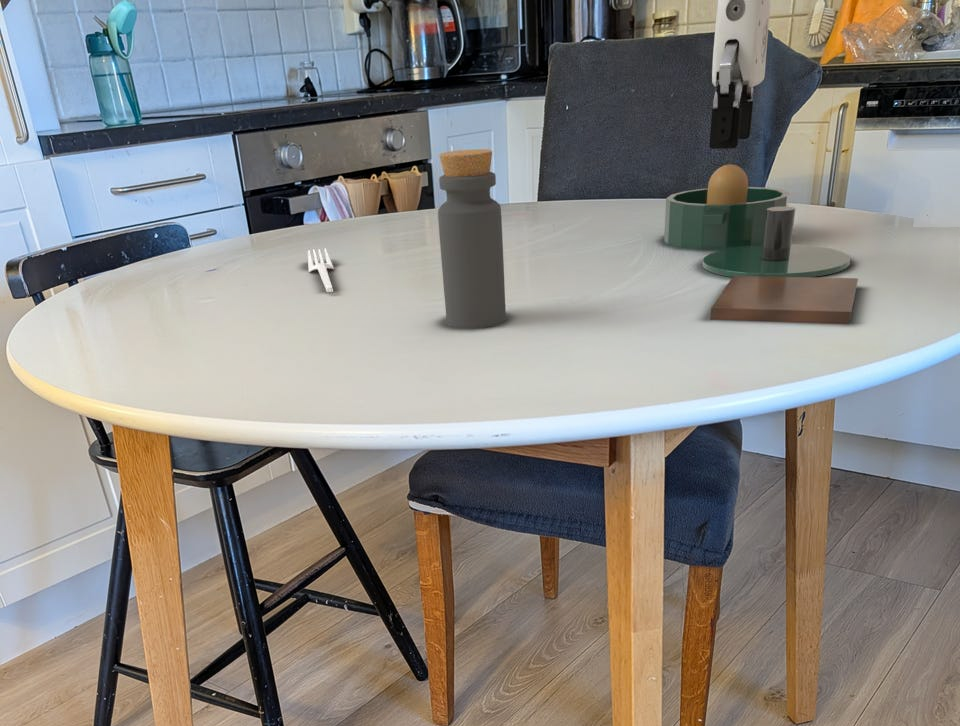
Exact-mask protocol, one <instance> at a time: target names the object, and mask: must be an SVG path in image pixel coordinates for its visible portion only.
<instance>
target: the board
mask: <svg viewBox="0 0 960 726" xmlns="http://www.w3.org/2000/svg"><path fill="white" fill-rule="evenodd" d="M858 281H859V278H857V277H852V278H851V277H756V276H733V277H731V279H730V280H729V282H728V283H727V284H726V285H725V287H724V289H722V291H721V293H720V295H719V296H718V297H717V299H716V300H715V302H714V303H713V304H712V306H711V307H710V318H709V319H710V320H713V321H715V320H716V321H717V320H718V321H740V322H741V321H745V322H746V321H747V322H772V323H773V322H774V323H777V322H778V323H804V324H829V325H833V324H834V325H850V322H851V317H852V312H853V306H854V302H855V298H856V293H857V288H858V283H859V282H858Z"/></svg>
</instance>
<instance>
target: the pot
mask: <svg viewBox="0 0 960 726" xmlns="http://www.w3.org/2000/svg"><path fill="white" fill-rule="evenodd" d="M707 193H708V187H707V188H698V189H690V190H683V191H679V192H675V193H671V194H670V195H668V196H667V197H666V198H665V212H664V213H665V215H664V233H663V234H664V235H663V236H664V237H663V241H664V242H665V244H667V245H669V246H672V247H675V248H680V249H688V250H697V251H721V250H725V249H730V248H737V247H744V246H755V245H763V237H764V227H765V218H766V210H767V209H768V208H771V207H789V201H790V192H787V191H786V190H783V189H778V188H773V187H761V186H760V187H758V186H748V190H747V201H746V203H735V204H707Z"/></svg>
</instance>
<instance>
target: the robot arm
mask: <svg viewBox="0 0 960 726" xmlns="http://www.w3.org/2000/svg"><path fill="white" fill-rule="evenodd" d="M770 12H771V0H717V4H716V17H715V28H714V36H713V37H714V38H713V39H714V40H713V50H712V51H713V53H712V67H711V83H712V85H713V86H714V87H715V91H714V96H713V97H714V98H713V103H712V109H711V118H710V130H709V141H708V142H709V143H708V144H709V145H708V146H709V149H712V150H721V149H725V150H727V149H728V150H729V149H736V148H737V147H738V146H739V140H747V139H749V138H750V136H751V130H752V129H751V127H752V119H753V118H752V117H753V107H754V100H753V97H754V87H756V86H758V85H760V84H761V83H763V81H764V79H765V76H766V63H767V62H766V61H767V49H768V38H769V36H768V35H769V27H770V26H769V25H770V14H771V13H770Z"/></svg>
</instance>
